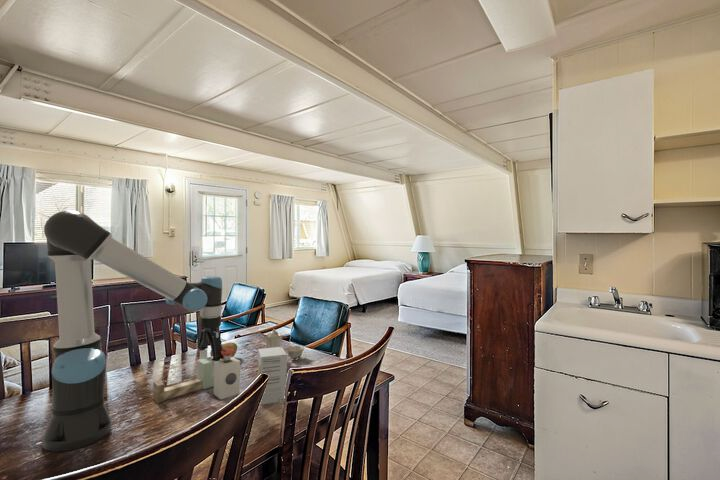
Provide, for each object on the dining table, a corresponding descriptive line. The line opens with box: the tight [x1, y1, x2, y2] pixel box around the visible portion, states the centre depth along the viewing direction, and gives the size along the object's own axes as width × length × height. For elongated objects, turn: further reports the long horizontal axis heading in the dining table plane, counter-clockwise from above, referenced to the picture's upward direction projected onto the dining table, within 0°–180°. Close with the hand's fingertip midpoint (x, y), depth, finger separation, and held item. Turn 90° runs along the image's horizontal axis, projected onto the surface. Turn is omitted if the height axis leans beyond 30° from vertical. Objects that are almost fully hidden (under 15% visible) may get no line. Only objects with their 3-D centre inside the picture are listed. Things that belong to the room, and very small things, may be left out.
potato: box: [209, 341, 238, 359], centre depth 159 cm, size 10×14×8 cm
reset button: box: [221, 348, 234, 363], centre depth 126 cm, size 4×4×4 cm
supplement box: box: [257, 346, 288, 406], centre depth 124 cm, size 10×9×17 cm
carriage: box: [196, 356, 222, 390], centre depth 133 cm, size 7×6×10 cm
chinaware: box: [265, 328, 305, 361], centre depth 156 cm, size 28×17×17 cm, turn 169°
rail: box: [152, 378, 203, 404], centre depth 129 cm, size 26×5×6 cm, turn 137°
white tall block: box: [213, 357, 241, 400], centre depth 126 cm, size 7×6×12 cm
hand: (209, 371), depth 133 cm, fingers open, 12 cm apart
